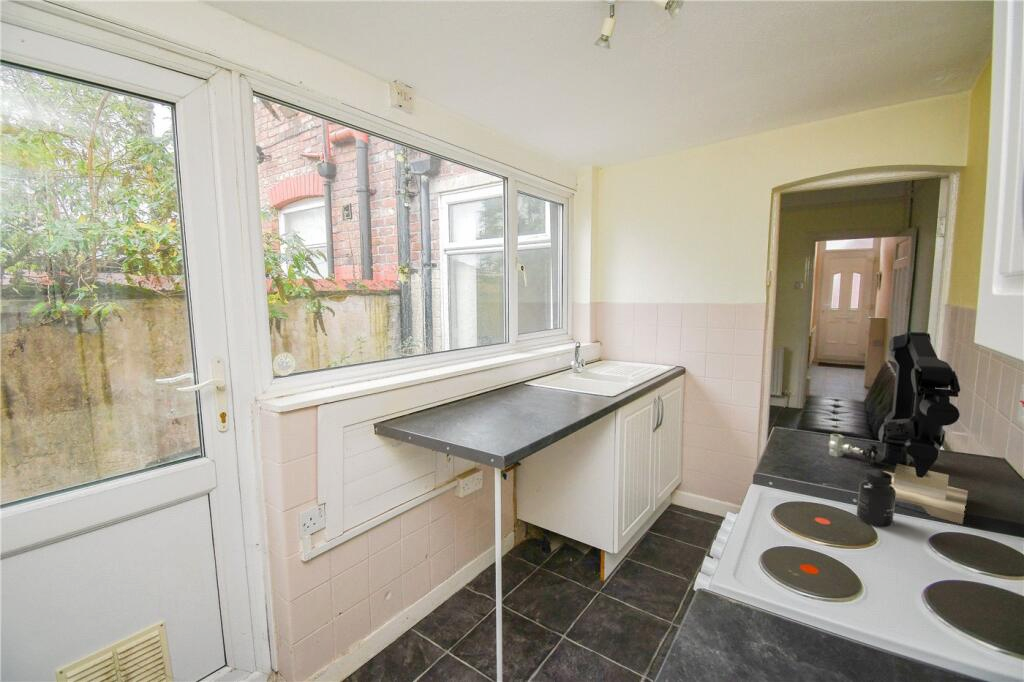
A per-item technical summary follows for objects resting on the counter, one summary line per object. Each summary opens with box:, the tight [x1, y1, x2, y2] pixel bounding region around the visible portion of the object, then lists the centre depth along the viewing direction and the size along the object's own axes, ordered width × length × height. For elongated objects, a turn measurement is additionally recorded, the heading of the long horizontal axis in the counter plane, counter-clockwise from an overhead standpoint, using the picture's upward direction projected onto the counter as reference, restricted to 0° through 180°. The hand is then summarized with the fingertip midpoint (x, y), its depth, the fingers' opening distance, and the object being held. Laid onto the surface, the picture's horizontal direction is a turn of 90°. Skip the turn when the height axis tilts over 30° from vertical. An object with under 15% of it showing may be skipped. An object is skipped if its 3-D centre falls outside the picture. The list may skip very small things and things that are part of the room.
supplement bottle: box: [856, 469, 896, 528], centre depth 106 cm, size 7×7×12 cm
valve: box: [828, 433, 878, 466], centre depth 141 cm, size 7×7×12 cm
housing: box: [893, 464, 950, 500], centre depth 115 cm, size 10×5×5 cm, turn 43°
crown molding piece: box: [882, 470, 969, 525], centre depth 116 cm, size 16×17×2 cm
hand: (922, 471), depth 115 cm, fingers open, 9 cm apart
